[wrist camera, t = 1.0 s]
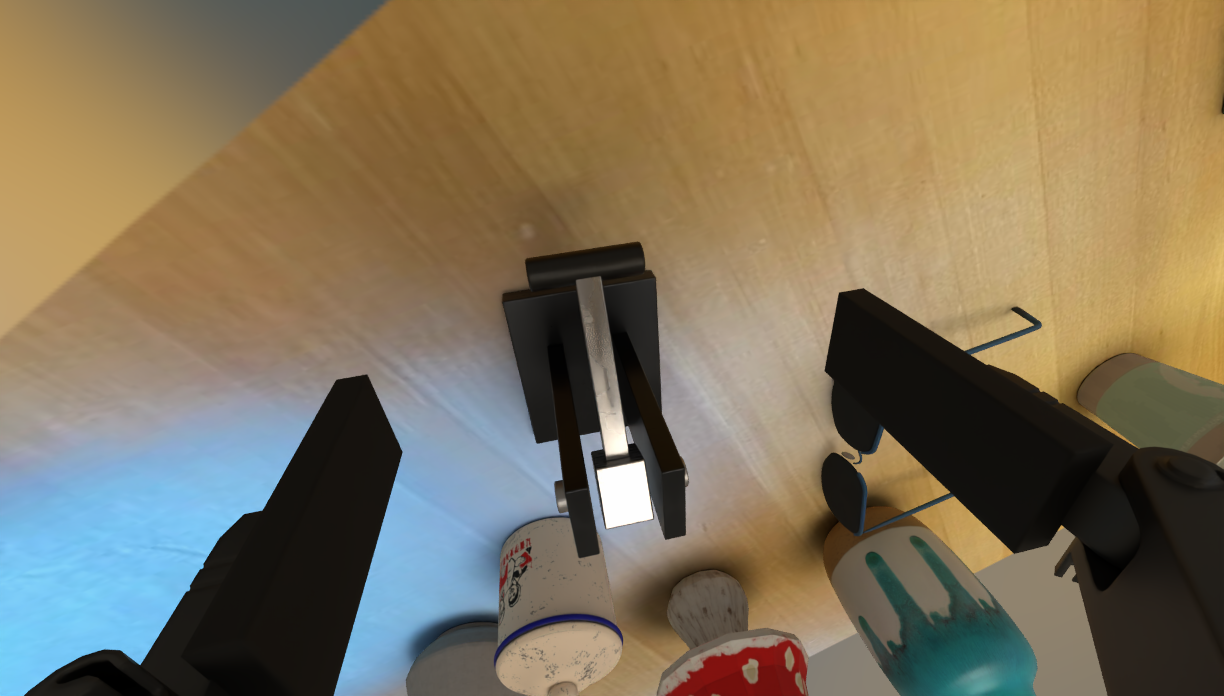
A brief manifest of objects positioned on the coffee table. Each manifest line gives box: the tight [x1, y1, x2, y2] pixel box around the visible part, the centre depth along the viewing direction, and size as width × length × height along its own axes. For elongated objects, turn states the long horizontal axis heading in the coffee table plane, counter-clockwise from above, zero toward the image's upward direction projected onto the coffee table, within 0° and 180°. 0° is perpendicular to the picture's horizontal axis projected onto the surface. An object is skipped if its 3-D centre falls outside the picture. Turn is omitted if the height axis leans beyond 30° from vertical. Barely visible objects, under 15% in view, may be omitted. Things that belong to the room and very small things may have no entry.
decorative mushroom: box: [657, 570, 809, 696], centre depth 41 cm, size 14×14×15 cm
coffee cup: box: [1077, 353, 1224, 469], centre depth 37 cm, size 8×8×12 cm
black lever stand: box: [502, 271, 689, 558], centre depth 25 cm, size 11×9×13 cm
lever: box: [525, 242, 654, 529], centre depth 21 cm, size 12×5×2 cm, turn 5°
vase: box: [823, 506, 1037, 696], centre depth 38 cm, size 11×11×19 cm
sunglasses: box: [821, 307, 1042, 536], centre depth 38 cm, size 17×15×5 cm
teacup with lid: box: [494, 518, 623, 696], centre depth 36 cm, size 12×9×12 cm
